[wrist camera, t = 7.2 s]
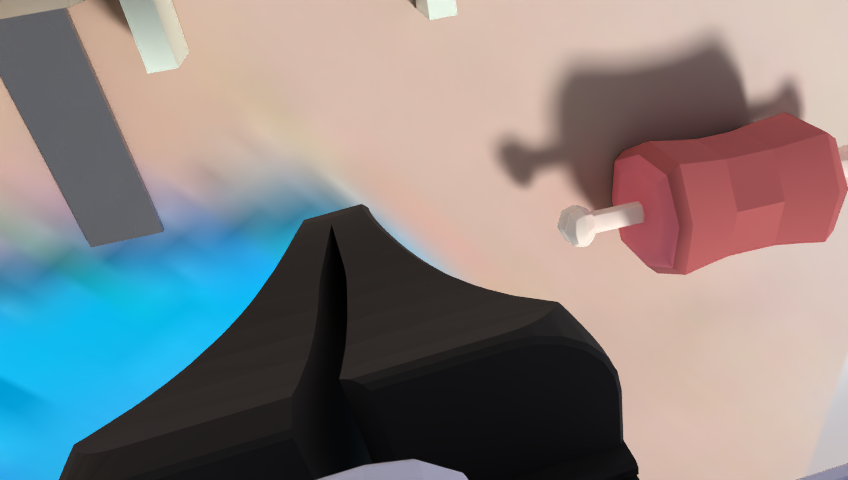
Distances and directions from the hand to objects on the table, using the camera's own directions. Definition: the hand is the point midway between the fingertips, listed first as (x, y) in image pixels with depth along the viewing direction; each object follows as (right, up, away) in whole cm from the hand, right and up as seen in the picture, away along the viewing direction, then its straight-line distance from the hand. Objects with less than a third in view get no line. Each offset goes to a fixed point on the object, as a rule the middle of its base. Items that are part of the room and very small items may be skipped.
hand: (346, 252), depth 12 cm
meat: (+13, +1, +6) cm, 14 cm away
